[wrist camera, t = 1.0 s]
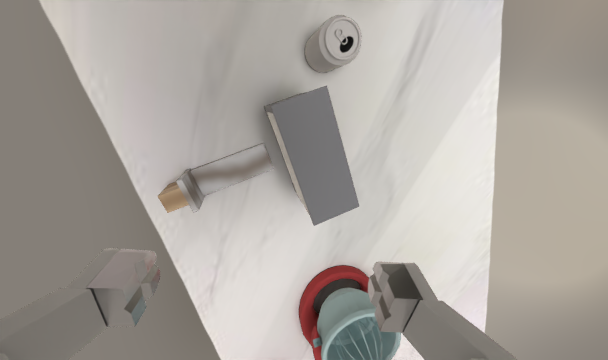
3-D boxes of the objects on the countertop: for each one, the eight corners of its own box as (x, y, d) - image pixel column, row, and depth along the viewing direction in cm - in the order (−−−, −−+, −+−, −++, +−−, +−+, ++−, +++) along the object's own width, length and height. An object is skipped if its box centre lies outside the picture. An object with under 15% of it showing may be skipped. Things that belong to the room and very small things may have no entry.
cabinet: (261, 105, 50) (270, 105, 34) (300, 92, 51) (326, 85, 35) (294, 191, 57) (314, 225, 41) (327, 178, 58) (359, 206, 42)
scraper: (165, 178, 50) (151, 190, 42) (263, 141, 52) (266, 147, 45) (180, 205, 52) (170, 222, 44) (273, 169, 54) (278, 179, 47)
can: (321, 81, 51) (343, 74, 40) (296, 52, 49) (312, 37, 37) (345, 53, 51) (374, 39, 40) (321, 23, 48) (345, -1, 37)
